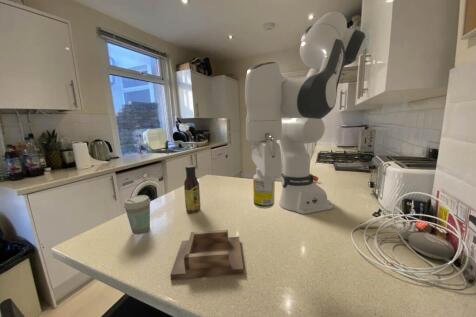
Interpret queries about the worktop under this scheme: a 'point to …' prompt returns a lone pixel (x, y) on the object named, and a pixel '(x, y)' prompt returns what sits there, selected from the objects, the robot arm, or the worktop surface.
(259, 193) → the supplement bottle
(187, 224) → the worktop surface
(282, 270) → the worktop surface
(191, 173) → the sauce bottle
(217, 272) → the slot holder
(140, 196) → the coffee cup
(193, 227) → the worktop surface
